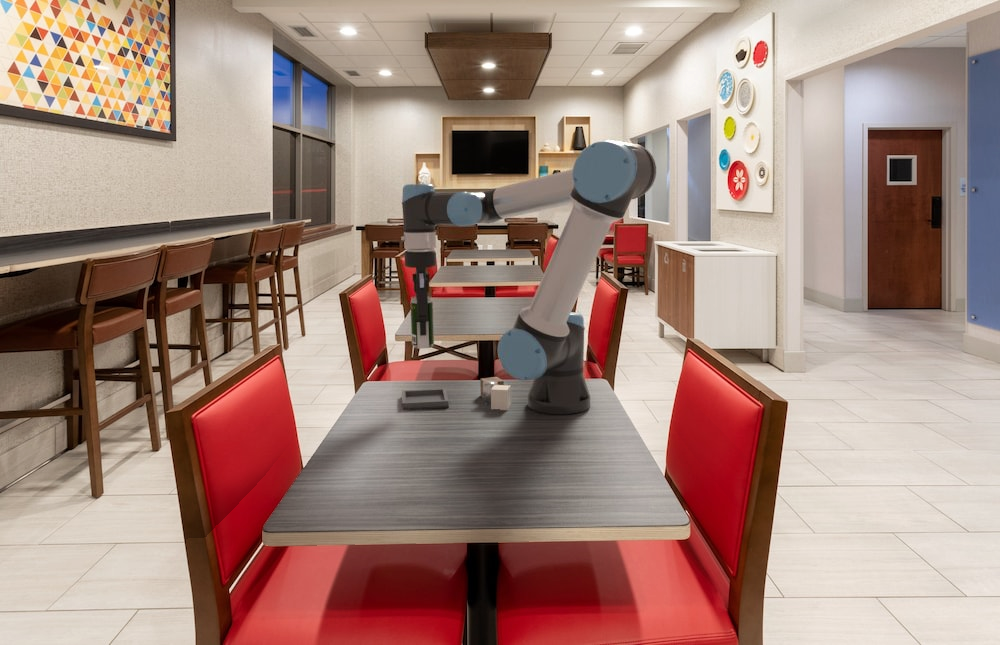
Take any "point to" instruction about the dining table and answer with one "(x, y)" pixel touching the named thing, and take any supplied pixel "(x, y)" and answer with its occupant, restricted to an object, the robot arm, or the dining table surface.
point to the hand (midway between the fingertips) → (423, 345)
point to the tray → (424, 399)
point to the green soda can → (414, 324)
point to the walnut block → (500, 382)
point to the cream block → (501, 397)
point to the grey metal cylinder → (488, 390)
